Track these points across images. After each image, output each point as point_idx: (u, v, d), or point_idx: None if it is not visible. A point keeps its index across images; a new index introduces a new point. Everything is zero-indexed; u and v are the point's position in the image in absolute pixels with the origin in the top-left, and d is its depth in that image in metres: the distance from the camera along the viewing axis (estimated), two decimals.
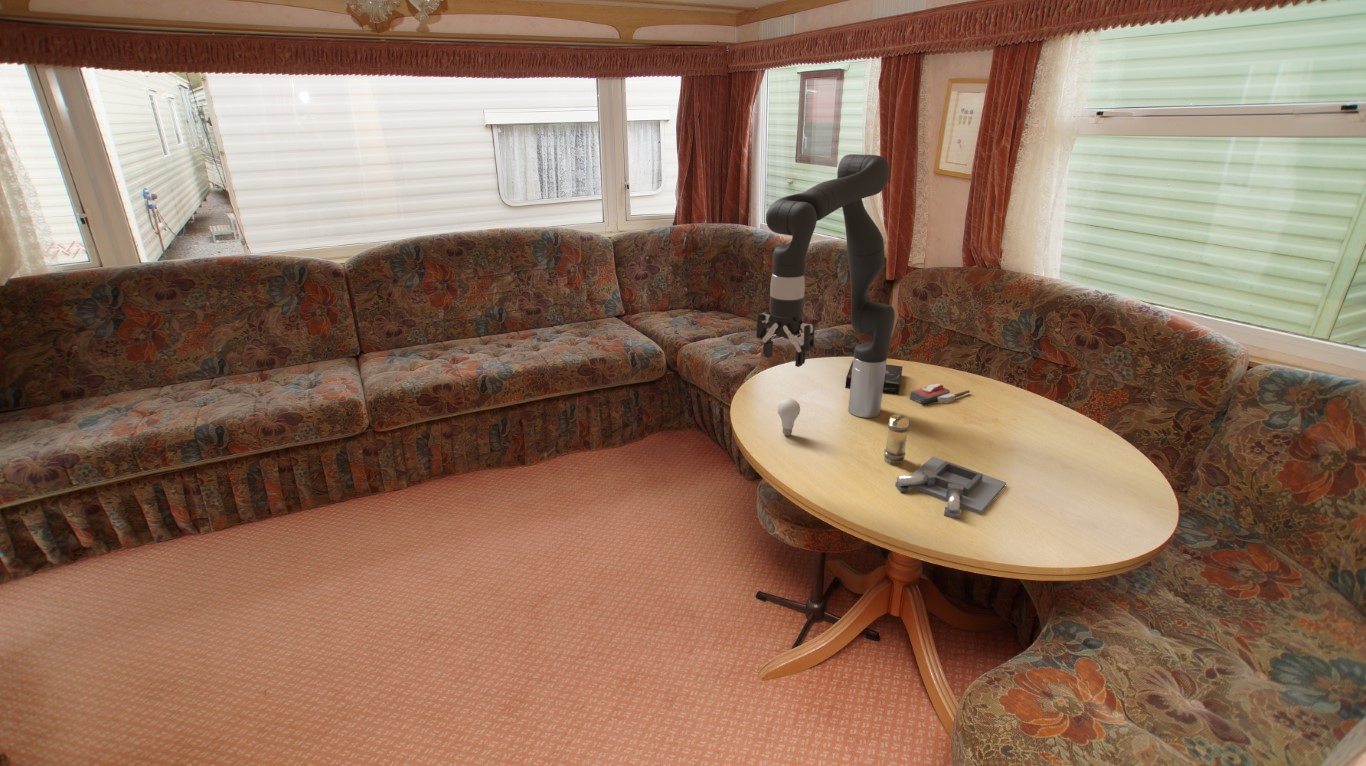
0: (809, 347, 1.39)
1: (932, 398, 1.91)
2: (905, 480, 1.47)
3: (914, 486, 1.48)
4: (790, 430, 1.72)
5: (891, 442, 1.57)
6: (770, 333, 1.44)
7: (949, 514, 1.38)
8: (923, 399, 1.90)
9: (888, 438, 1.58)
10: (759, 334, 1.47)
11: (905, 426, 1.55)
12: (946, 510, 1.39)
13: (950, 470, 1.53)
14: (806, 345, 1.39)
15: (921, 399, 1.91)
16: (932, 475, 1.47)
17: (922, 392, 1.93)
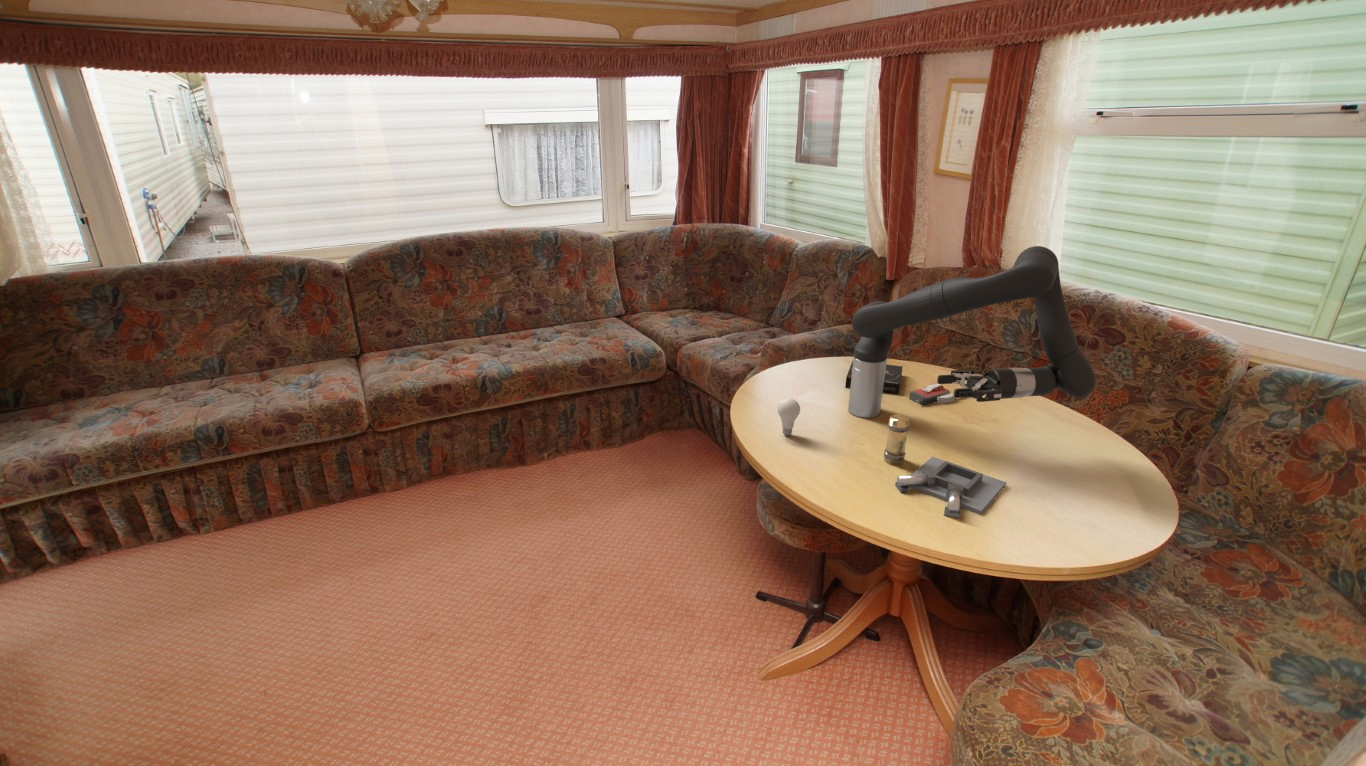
0: None
1: (931, 398, 1.91)
2: (905, 480, 1.47)
3: (914, 486, 1.48)
4: (790, 430, 1.72)
5: (891, 442, 1.57)
6: None
7: (949, 514, 1.38)
8: (922, 399, 1.90)
9: (888, 438, 1.58)
10: None
11: (905, 426, 1.55)
12: (946, 510, 1.39)
13: (950, 470, 1.53)
14: None
15: (920, 399, 1.91)
16: (932, 475, 1.47)
17: (921, 392, 1.93)
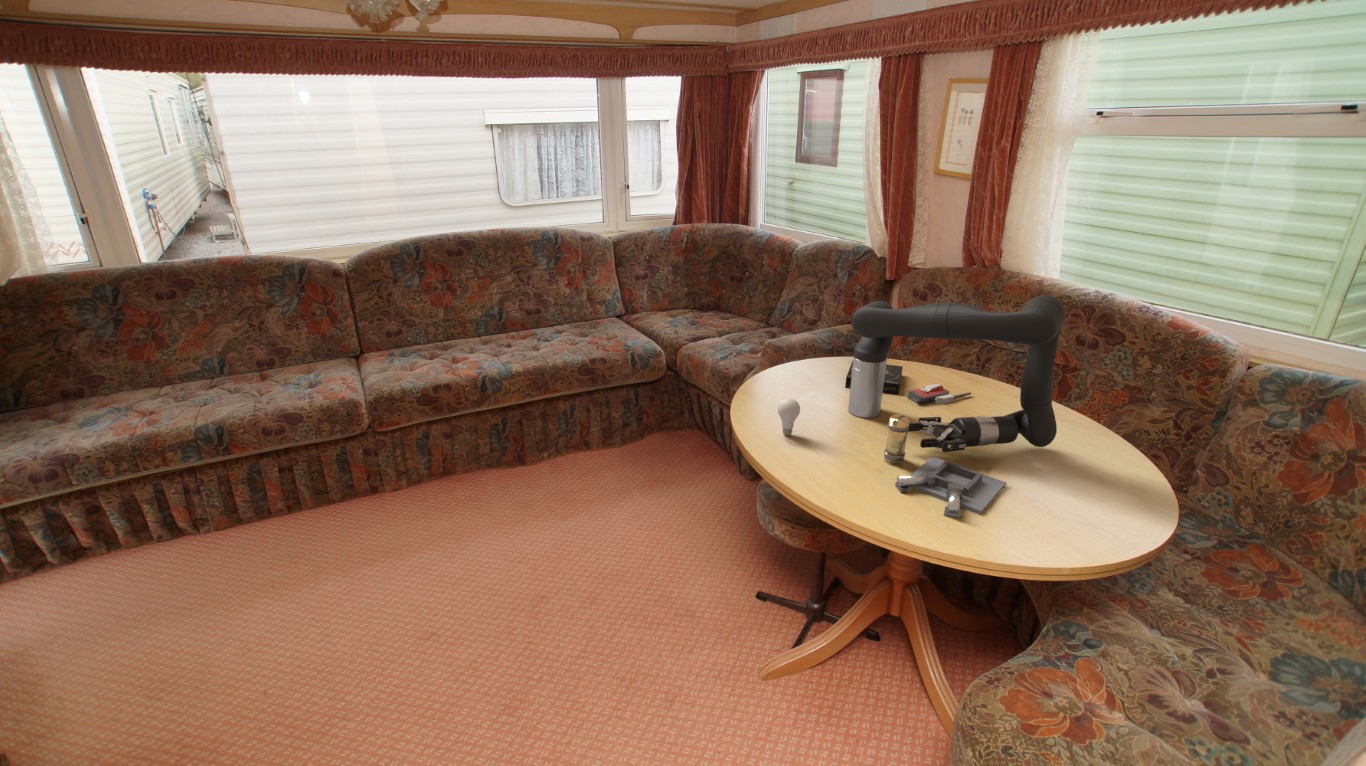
0: None
1: (929, 398, 1.91)
2: (905, 480, 1.47)
3: (914, 486, 1.48)
4: (790, 430, 1.72)
5: (891, 442, 1.57)
6: None
7: (949, 514, 1.38)
8: (919, 399, 1.91)
9: (888, 438, 1.58)
10: None
11: (905, 426, 1.55)
12: (946, 510, 1.39)
13: (950, 470, 1.53)
14: None
15: (917, 398, 1.92)
16: (932, 475, 1.47)
17: (920, 392, 1.93)
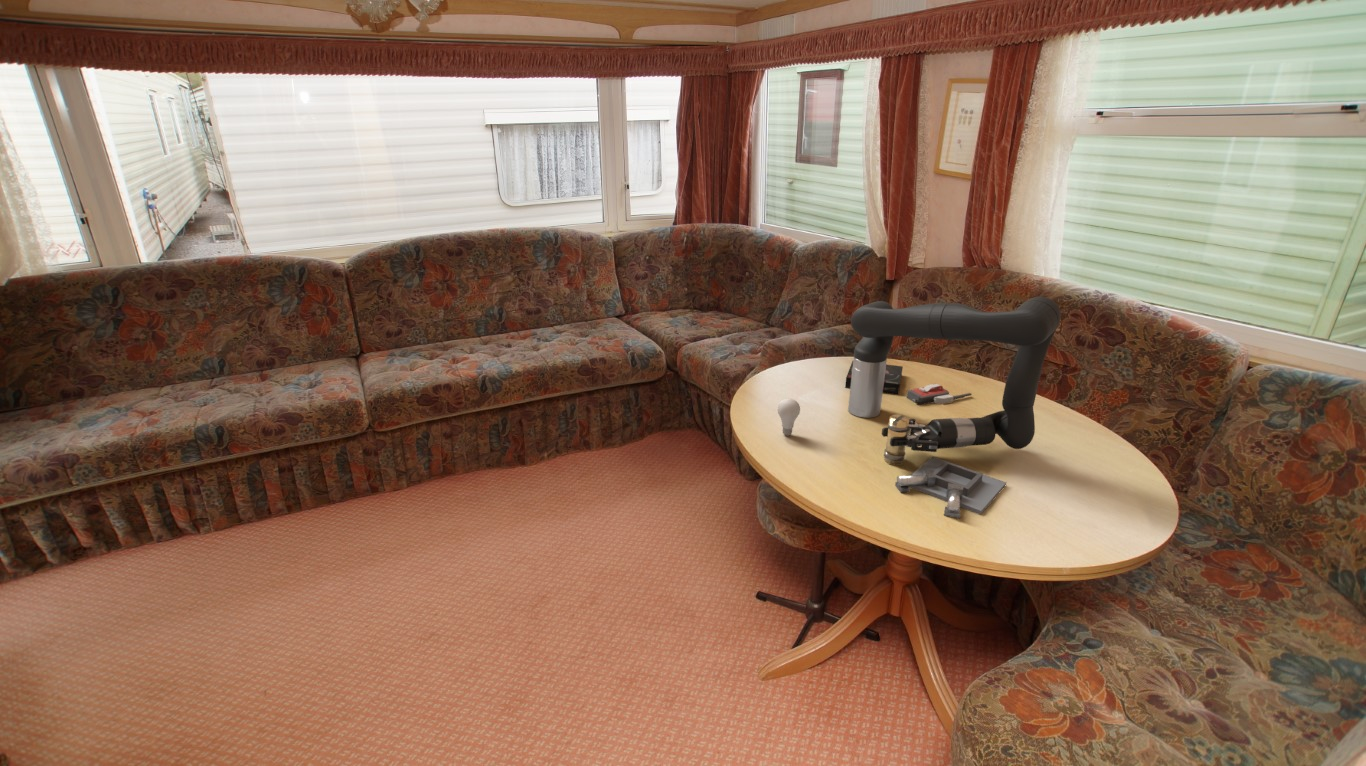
0: None
1: (928, 398, 1.92)
2: (905, 480, 1.47)
3: (914, 486, 1.48)
4: (790, 430, 1.72)
5: None
6: None
7: (949, 514, 1.38)
8: (918, 398, 1.91)
9: (888, 438, 1.58)
10: None
11: (905, 426, 1.55)
12: (946, 510, 1.39)
13: (950, 470, 1.53)
14: None
15: (916, 398, 1.92)
16: (932, 475, 1.47)
17: (919, 391, 1.94)
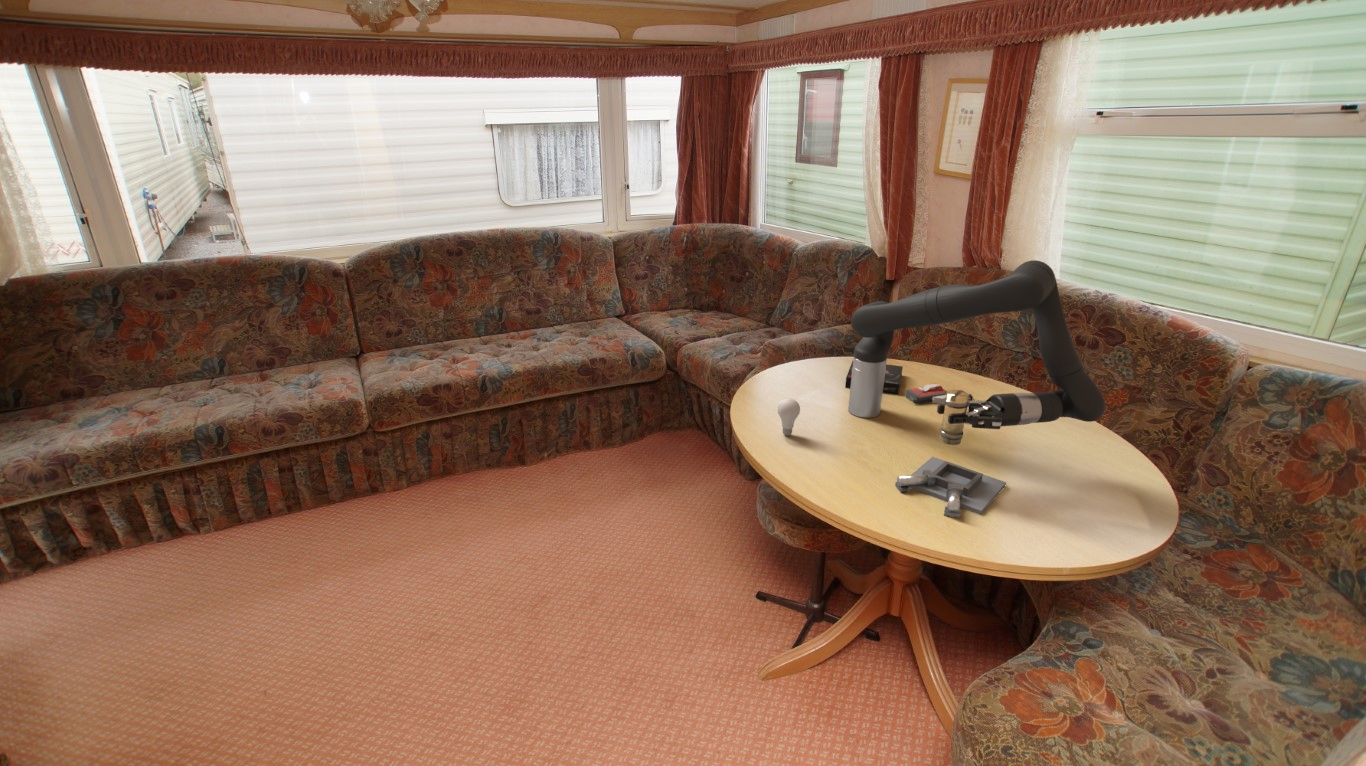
0: None
1: (926, 398, 1.92)
2: (905, 480, 1.47)
3: (914, 486, 1.48)
4: (790, 430, 1.72)
5: None
6: None
7: (949, 514, 1.38)
8: (916, 398, 1.91)
9: (945, 415, 1.45)
10: None
11: (965, 401, 1.41)
12: (946, 510, 1.39)
13: (950, 470, 1.53)
14: None
15: (914, 397, 1.92)
16: (932, 475, 1.47)
17: (917, 391, 1.94)
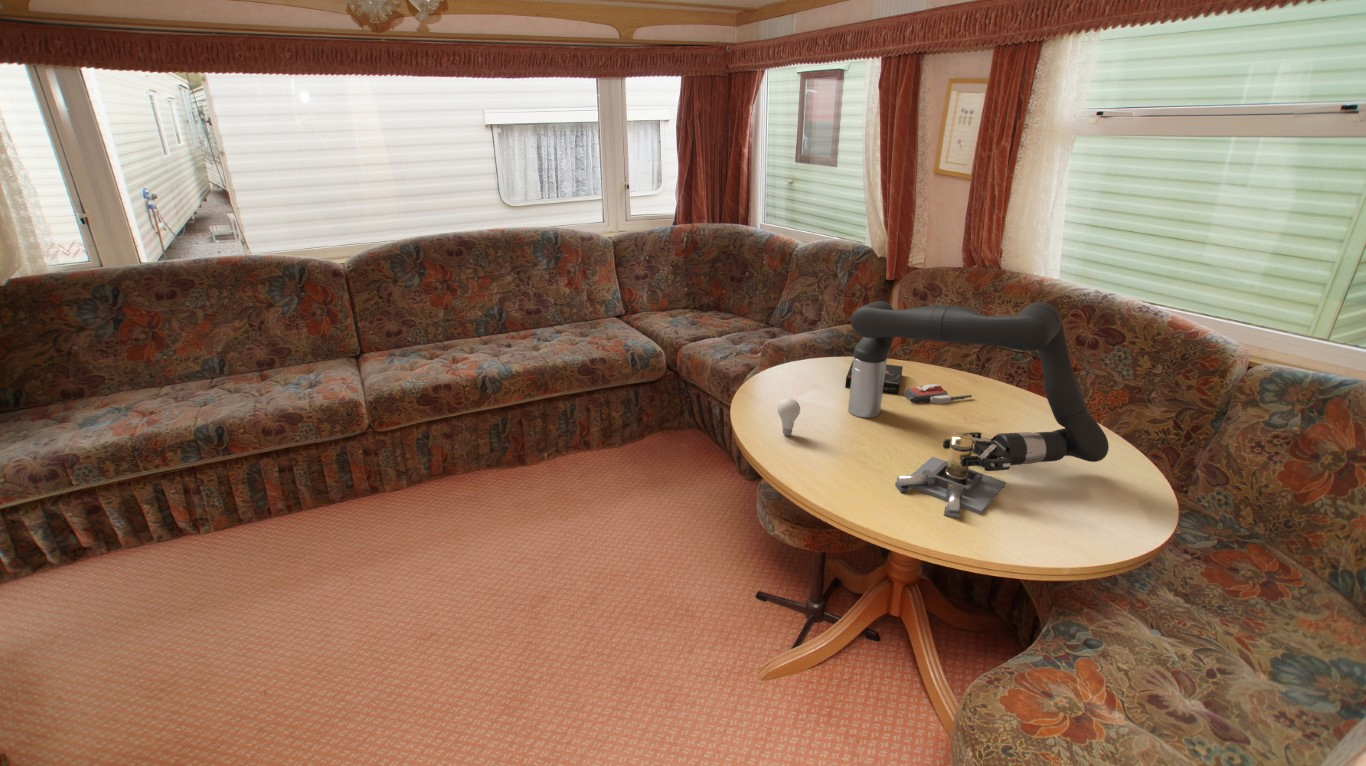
0: None
1: (924, 397, 1.92)
2: (905, 480, 1.47)
3: (914, 486, 1.48)
4: (790, 430, 1.72)
5: (954, 462, 1.46)
6: None
7: (949, 514, 1.38)
8: (913, 397, 1.92)
9: (950, 458, 1.47)
10: None
11: (969, 445, 1.43)
12: (946, 510, 1.39)
13: None
14: None
15: (912, 396, 1.93)
16: (932, 475, 1.47)
17: (916, 390, 1.94)
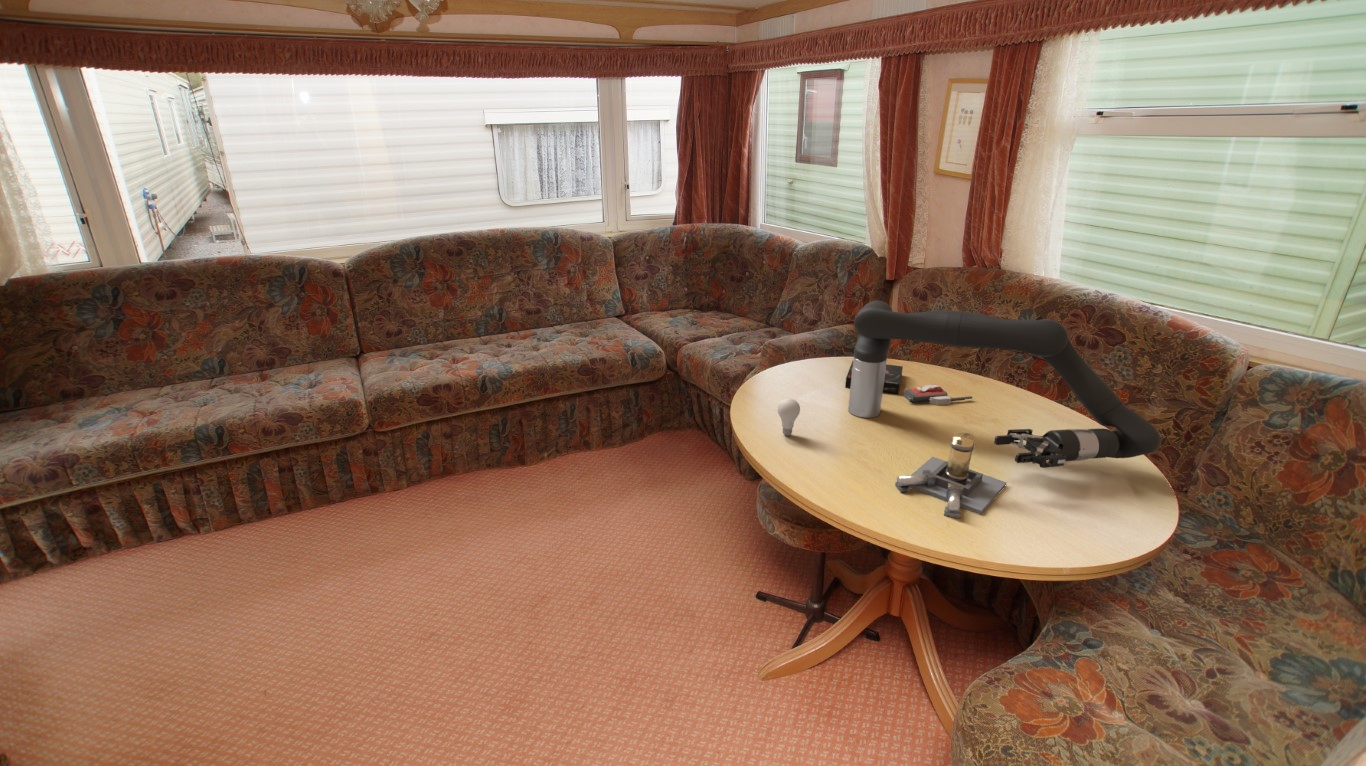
0: None
1: (923, 398, 1.92)
2: (905, 480, 1.47)
3: (914, 486, 1.48)
4: (790, 430, 1.72)
5: (955, 462, 1.46)
6: None
7: (949, 514, 1.38)
8: (912, 397, 1.92)
9: (951, 458, 1.47)
10: None
11: (970, 445, 1.43)
12: (946, 510, 1.39)
13: None
14: None
15: (911, 397, 1.93)
16: (932, 475, 1.47)
17: (915, 391, 1.94)
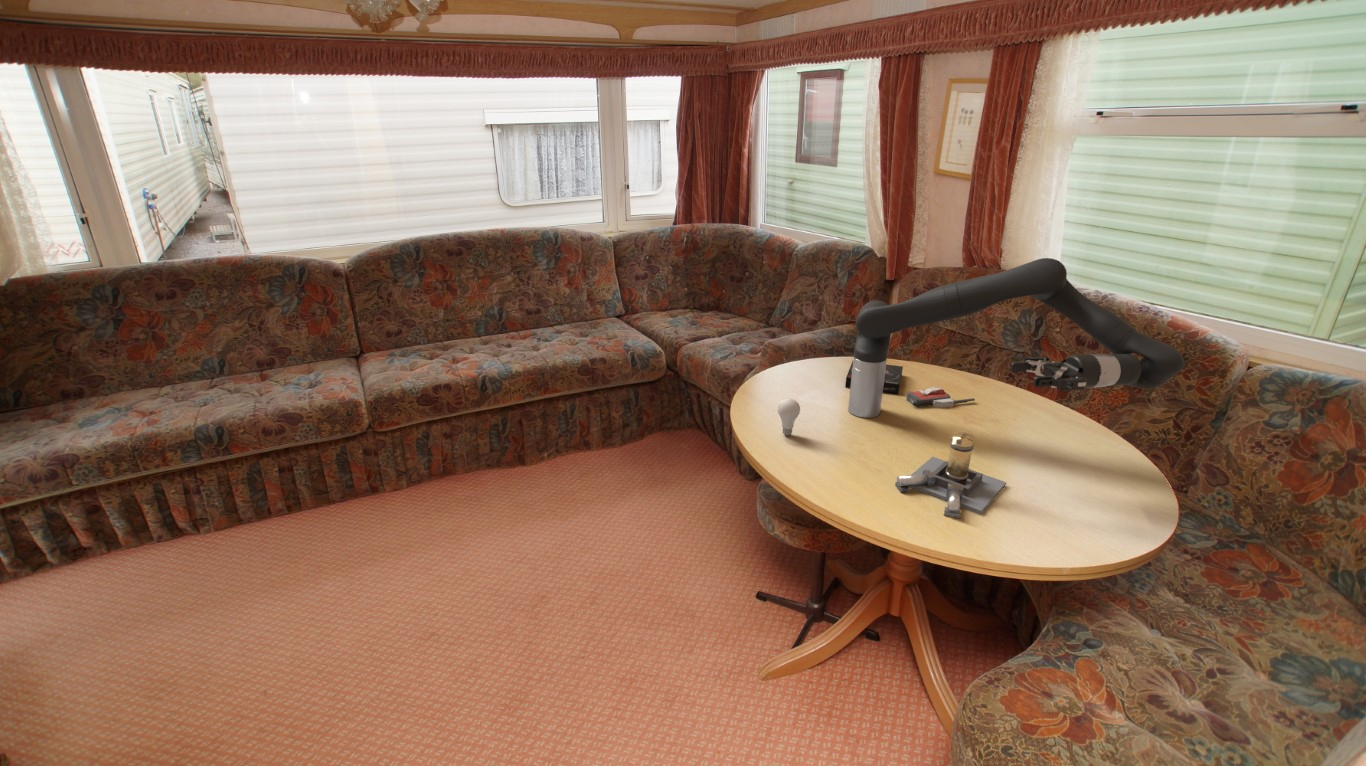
0: None
1: (926, 401, 1.90)
2: (905, 480, 1.47)
3: (914, 486, 1.48)
4: (790, 430, 1.72)
5: (954, 462, 1.46)
6: None
7: (949, 514, 1.38)
8: (916, 401, 1.89)
9: (950, 458, 1.47)
10: None
11: (970, 445, 1.43)
12: (946, 510, 1.39)
13: None
14: None
15: (914, 400, 1.90)
16: (932, 475, 1.47)
17: (918, 394, 1.92)
